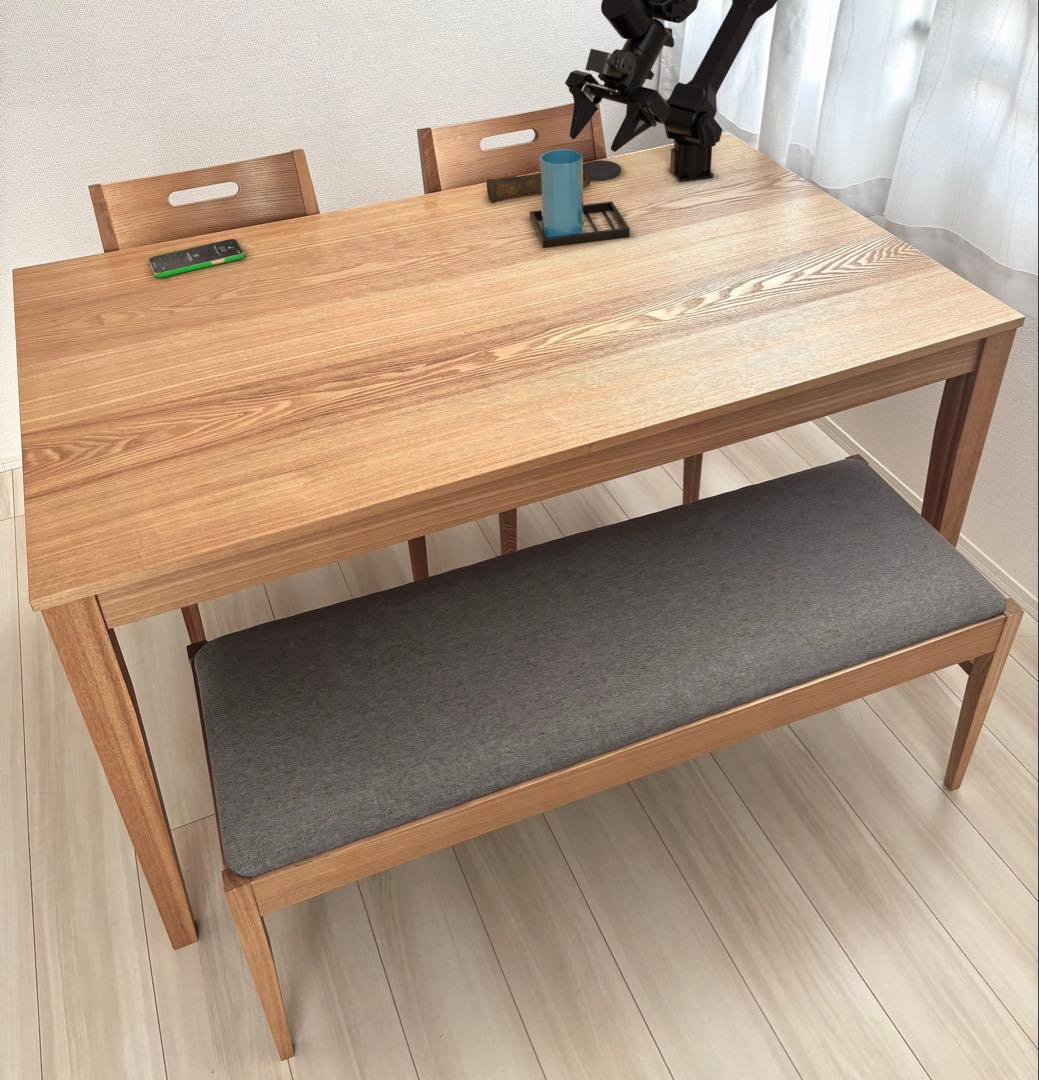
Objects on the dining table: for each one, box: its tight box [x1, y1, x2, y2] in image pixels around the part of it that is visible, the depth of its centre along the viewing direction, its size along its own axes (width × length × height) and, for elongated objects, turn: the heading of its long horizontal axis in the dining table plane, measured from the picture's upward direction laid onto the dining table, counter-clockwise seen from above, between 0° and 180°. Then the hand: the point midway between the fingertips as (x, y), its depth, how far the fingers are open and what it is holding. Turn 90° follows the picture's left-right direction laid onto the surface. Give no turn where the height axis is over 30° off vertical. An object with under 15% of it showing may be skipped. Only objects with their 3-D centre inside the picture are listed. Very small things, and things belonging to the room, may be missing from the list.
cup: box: [538, 148, 585, 238], centre depth 172 cm, size 7×7×13 cm
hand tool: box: [486, 163, 591, 203], centre depth 188 cm, size 19×4×5 cm, turn 101°
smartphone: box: [148, 238, 246, 279], centre depth 175 cm, size 8×1×15 cm
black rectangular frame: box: [529, 201, 630, 249], centre depth 177 cm, size 15×12×2 cm
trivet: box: [583, 159, 622, 182], centre depth 195 cm, size 8×8×1 cm
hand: (591, 144), depth 171 cm, fingers open, 9 cm apart
